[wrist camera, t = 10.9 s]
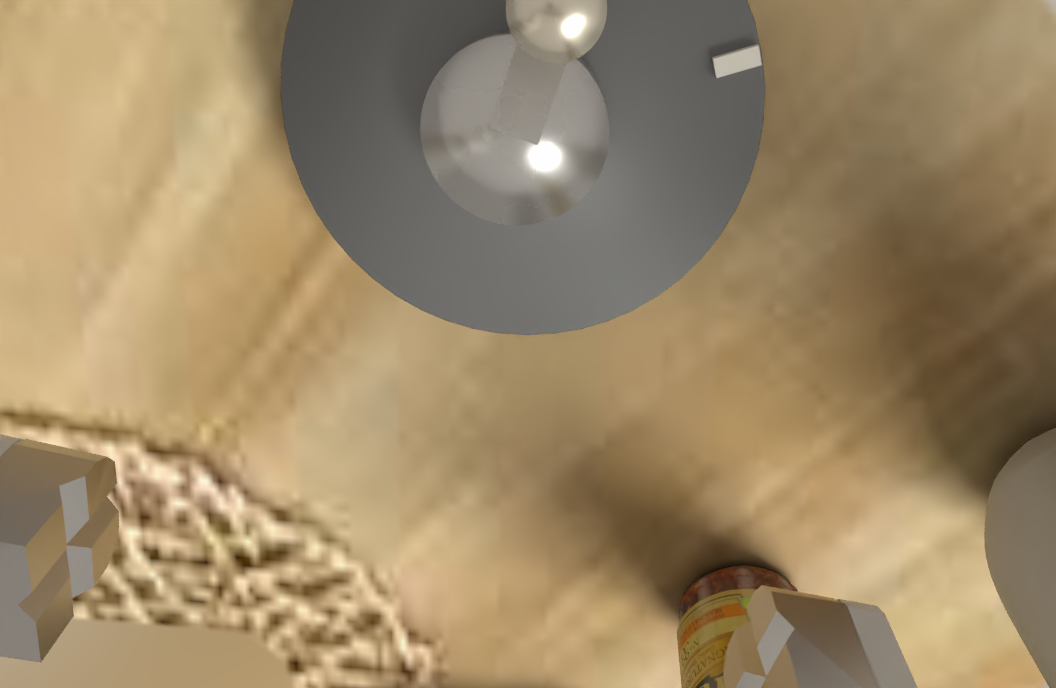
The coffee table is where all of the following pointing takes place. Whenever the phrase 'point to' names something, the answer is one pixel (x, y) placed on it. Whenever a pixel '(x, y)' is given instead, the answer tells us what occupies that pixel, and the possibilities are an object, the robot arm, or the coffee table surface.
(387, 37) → the dial plate
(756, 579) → the sauce bottle
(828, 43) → the coffee table surface
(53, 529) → the robot arm
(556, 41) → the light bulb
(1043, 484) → the grey bottle
